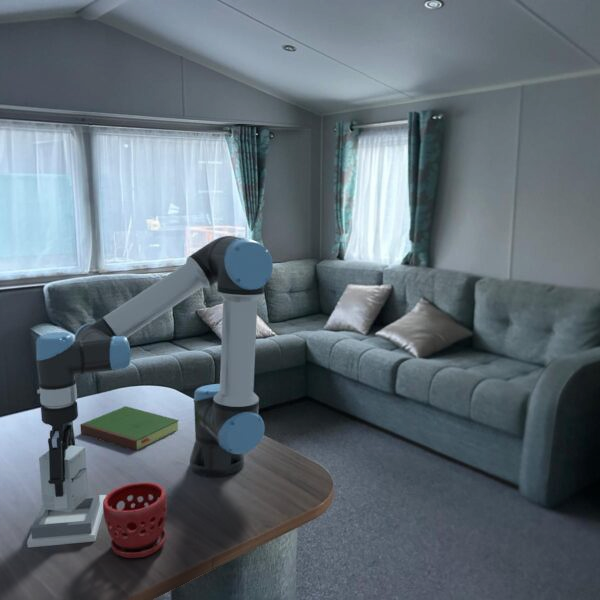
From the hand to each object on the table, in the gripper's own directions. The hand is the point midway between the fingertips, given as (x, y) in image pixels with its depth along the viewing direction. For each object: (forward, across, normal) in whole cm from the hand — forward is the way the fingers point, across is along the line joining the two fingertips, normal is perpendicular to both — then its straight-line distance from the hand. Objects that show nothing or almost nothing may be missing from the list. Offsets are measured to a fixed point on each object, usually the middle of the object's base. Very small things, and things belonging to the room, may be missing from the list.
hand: (66, 497), depth 136 cm
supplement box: (+2, 0, 0) cm, 2 cm away
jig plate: (+7, -2, 0) cm, 8 cm away
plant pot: (+8, +10, +16) cm, 21 cm away
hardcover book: (+8, -54, +9) cm, 55 cm away
